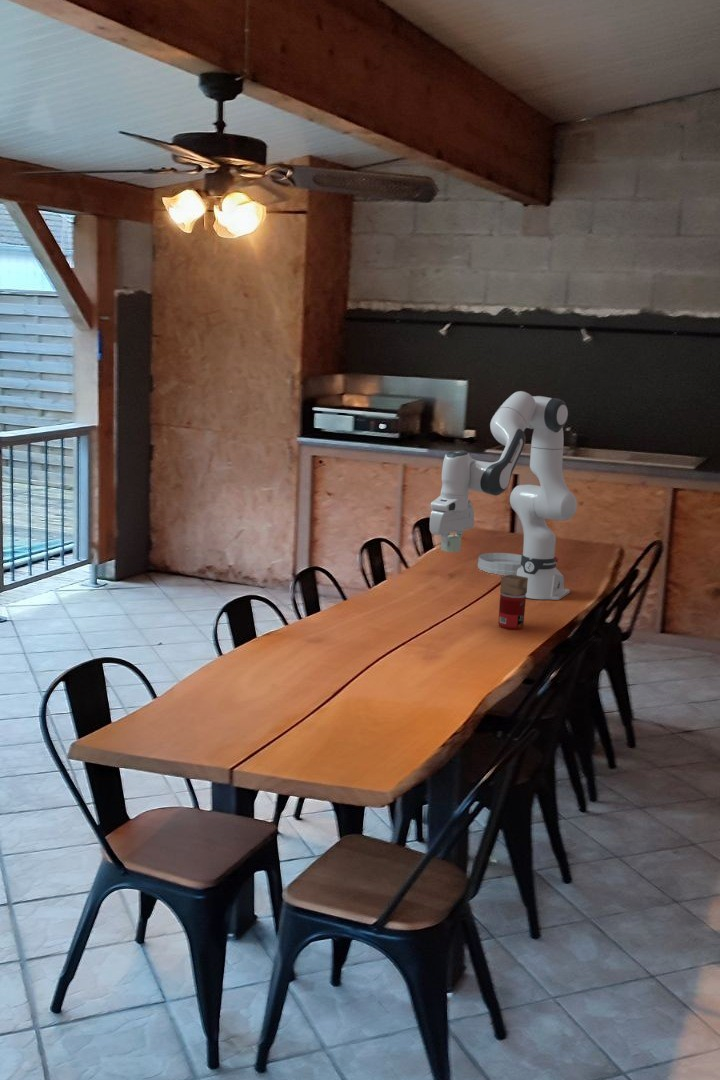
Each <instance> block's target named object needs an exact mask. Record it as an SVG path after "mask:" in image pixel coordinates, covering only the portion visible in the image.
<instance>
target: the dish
mask: <svg viewBox="0 0 720 1080" xmlns="http://www.w3.org/2000/svg"><path fill="white" fill-rule="evenodd" d="M521 556H522V554H516V553H509V552H507V553H506V552H486V553H482V554H480V555H478V560H477V561H478V562H477V567H478V568H479V569H480V570H483V571H485V572H488V573H494V574H499V575H506V576H507V575H511V574H512V575H517V570H518V569H519V568H520V567H521ZM478 568H477V569H478ZM480 570H479V571H480ZM488 573H487V574H488ZM499 575H498V576H499Z"/></svg>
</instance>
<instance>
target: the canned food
mask: <svg viewBox="0 0 720 1080" xmlns="http://www.w3.org/2000/svg"><path fill="white" fill-rule="evenodd" d="M526 600H527V598H526V594H523V595H519V596H513V595H509V594H504V593H500V595H499V609H498V620H497V621H498V622H497V623H498V627H500V628H501V629H503V630H504V629H505V630H509V631H510V630H513V631H519V630H521V629H523V627H524V624H525V623H524V622H525V612H526Z"/></svg>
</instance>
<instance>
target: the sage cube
mask: <svg viewBox="0 0 720 1080" xmlns="http://www.w3.org/2000/svg"><path fill="white" fill-rule="evenodd" d="M447 537H448V541H450V545H449V546H448V547H443V546H442V542H443V541H442V539H440V540H441V542H440V543H441V544H440V551H443V552H447V553H456V552H457V553H458V552H461V550H462V537H463V536H462V537H459V536H455V535H452V534H449V536H447Z"/></svg>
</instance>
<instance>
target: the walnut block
mask: <svg viewBox="0 0 720 1080" xmlns="http://www.w3.org/2000/svg"><path fill="white" fill-rule="evenodd" d="M500 578H501V579H500V591H499V593H500V594H501V593H504V594H509V595H513V596H519V595H523V594H526V593H527V583H528V578H527V577H522V576H517V575H512V574H511V575H507V576H501V577H500Z"/></svg>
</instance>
